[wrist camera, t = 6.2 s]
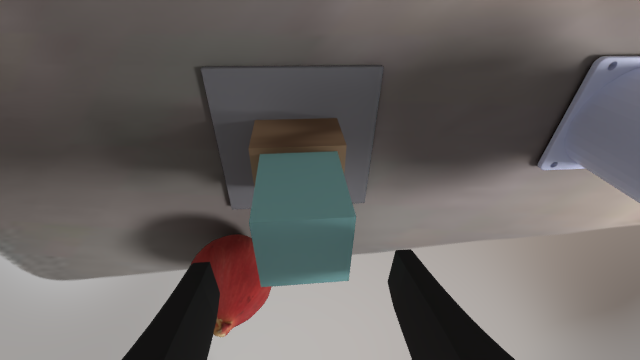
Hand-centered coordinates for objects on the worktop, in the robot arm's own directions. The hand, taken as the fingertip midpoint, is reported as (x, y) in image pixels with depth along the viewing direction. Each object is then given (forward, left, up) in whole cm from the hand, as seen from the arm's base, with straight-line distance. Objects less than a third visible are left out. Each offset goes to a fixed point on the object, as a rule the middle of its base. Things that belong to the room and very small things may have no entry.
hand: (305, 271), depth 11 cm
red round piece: (+5, +8, -10) cm, 14 cm away
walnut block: (0, 0, -9) cm, 9 cm away
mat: (0, 0, -10) cm, 10 cm away
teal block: (0, 0, -6) cm, 6 cm away
